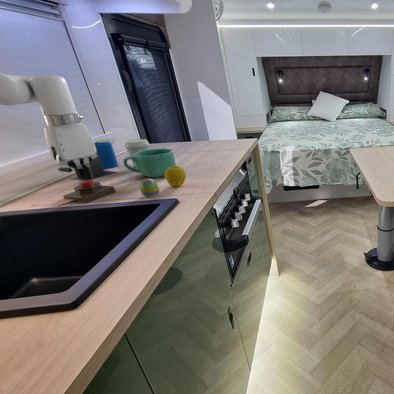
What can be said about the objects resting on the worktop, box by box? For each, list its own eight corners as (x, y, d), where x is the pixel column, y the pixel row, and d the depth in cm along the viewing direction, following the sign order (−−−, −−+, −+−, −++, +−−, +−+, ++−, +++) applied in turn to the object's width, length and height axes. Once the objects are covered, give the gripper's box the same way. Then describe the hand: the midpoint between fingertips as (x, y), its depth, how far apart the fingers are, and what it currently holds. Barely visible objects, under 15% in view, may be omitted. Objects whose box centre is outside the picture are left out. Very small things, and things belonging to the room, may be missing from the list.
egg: (143, 200, 91) (137, 182, 89) (142, 195, 95) (137, 178, 93) (161, 196, 94) (156, 179, 92) (159, 192, 98) (155, 175, 95)
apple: (171, 190, 99) (166, 168, 96) (165, 186, 103) (159, 164, 100) (191, 185, 104) (186, 164, 101) (184, 182, 107) (179, 161, 104)
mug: (179, 169, 123) (173, 147, 120) (176, 177, 113) (170, 153, 109) (132, 174, 117) (125, 151, 113) (125, 183, 106) (117, 158, 103)
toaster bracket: (89, 183, 108) (77, 149, 103) (71, 181, 110) (58, 148, 105) (118, 174, 117) (108, 143, 113) (101, 173, 120) (90, 142, 115)
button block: (84, 204, 89) (79, 191, 88) (65, 201, 91) (60, 189, 89) (116, 192, 98) (112, 181, 97) (98, 190, 100) (94, 179, 98)
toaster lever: (72, 173, 104) (66, 168, 102) (62, 172, 105) (55, 168, 103) (96, 150, 111) (90, 145, 109) (86, 149, 112) (80, 145, 110)
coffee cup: (130, 172, 120) (121, 143, 115) (133, 167, 127) (125, 140, 122) (154, 169, 124) (147, 141, 119) (156, 164, 131) (148, 138, 126)
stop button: (86, 188, 91) (84, 183, 90) (77, 187, 92) (75, 182, 91) (97, 185, 94) (95, 179, 94) (89, 184, 95) (87, 179, 94)
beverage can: (103, 167, 127) (94, 140, 122) (121, 166, 129) (112, 139, 124) (97, 171, 121) (87, 143, 117) (116, 170, 123) (106, 142, 119)
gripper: (81, 117, 93) (100, 172, 100) (22, 124, 80) (49, 186, 87) (98, 117, 91) (117, 173, 98) (41, 124, 78) (68, 188, 85)
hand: (85, 179), depth 92 cm, fingers closed
